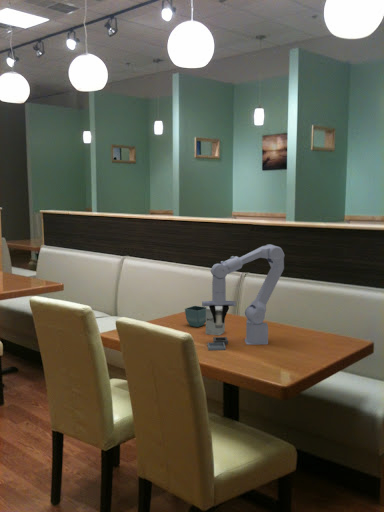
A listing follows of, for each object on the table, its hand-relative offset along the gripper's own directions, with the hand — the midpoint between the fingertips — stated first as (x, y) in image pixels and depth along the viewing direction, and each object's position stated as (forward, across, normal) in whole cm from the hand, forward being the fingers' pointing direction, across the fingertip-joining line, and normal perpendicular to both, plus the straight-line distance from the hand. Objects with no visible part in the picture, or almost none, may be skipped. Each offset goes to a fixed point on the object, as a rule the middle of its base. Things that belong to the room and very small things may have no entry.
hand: (218, 322), depth 231 cm
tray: (+10, +2, +5) cm, 11 cm away
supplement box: (+10, 0, -18) cm, 21 cm away
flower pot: (+10, +8, -33) cm, 36 cm away
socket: (+10, -1, -2) cm, 10 cm away
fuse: (+2, 0, 0) cm, 2 cm away
